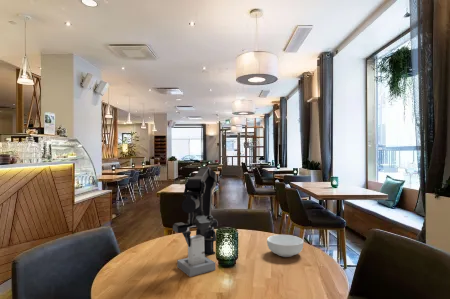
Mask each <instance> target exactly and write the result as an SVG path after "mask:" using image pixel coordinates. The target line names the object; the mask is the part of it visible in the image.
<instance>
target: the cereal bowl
mask: <svg viewBox="0 0 450 299" xmlns="http://www.w3.org/2000/svg"><path fill="white" fill-rule="evenodd" d="M266 240H267V241H266V243H267V247H268V249H269V251H271V252H272V253H274V254H276V255H278V256H279V257H283V258H291V257H293V256H295V255H299V254H300V253H301V252H302V250H303V249H304V240H303V238H301V237H299V236H295V235H292V234H274V235H270V236H268V237H267V239H266Z"/></svg>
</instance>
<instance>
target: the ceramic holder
mask: <svg viewBox="0 0 450 299" xmlns="http://www.w3.org/2000/svg"><path fill="white" fill-rule="evenodd" d="M176 262H177V263H176V264H177V265H176V266H177V268H178V269H179V270H181V272H183V273H184V274H186V275H187V276H188V277H189V278H190V277H194V276H198V275H201V274H205V273H209V272H212V271H216V266H217V265H216V262H215V261H214V260H212V259H210V258H208V257H207V256H205V263H204V264H199V265H195V266H191V265H189V264H188V257H185V258H181V259H177V261H176Z"/></svg>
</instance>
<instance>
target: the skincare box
mask: <svg viewBox="0 0 450 299" xmlns="http://www.w3.org/2000/svg"><path fill="white" fill-rule="evenodd" d="M190 242H191V245H190V247H188V246H187V258H188V264H189V265H191V266H195V265H199V264H204V263H205V257H206V256H205V248H204V236H202V235H196V234H195V235H190Z"/></svg>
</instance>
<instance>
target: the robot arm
mask: <svg viewBox="0 0 450 299" xmlns="http://www.w3.org/2000/svg"><path fill="white" fill-rule="evenodd" d="M217 175H218V174H217V173H216V171H214V170H213V169H211V167H209V166H201V167H199V170H198V171H197V173H196V174H195V175H194V176H192V177H191V176H190V177H189V178H188V179H187V180H186V181H185V185H184V186H185V187H184V190H183V196H184V197H186V198H185V199H183V201H182V203H181V209H182V211H183V212H184V213H186V214H188V219H187V223H184V222H175V223H173V224H172V231H174V233H175V232H176V233H178V234H182V235H183V237H184V239H185V241H186V243H187V248H188V247H190V245H191V242H190V236H191V234H192V231H190V229H193V228H196V230H195V235H202V236H204V248H205V257H207V256H210V255H215V254H216V252H215V251H214V243H215V242H216V241H217V234H216V231H215V228H216V227H218V226H219V222H218V220H217V219H216V218H214V216H213V215H212V202H213V201H212V200H213V191H214V189H215V188H216V186H217V185H216V183H217V182H218V176H217ZM214 227H215V228H214Z"/></svg>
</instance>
